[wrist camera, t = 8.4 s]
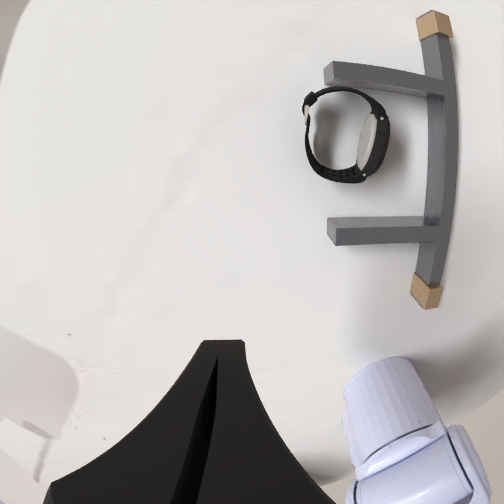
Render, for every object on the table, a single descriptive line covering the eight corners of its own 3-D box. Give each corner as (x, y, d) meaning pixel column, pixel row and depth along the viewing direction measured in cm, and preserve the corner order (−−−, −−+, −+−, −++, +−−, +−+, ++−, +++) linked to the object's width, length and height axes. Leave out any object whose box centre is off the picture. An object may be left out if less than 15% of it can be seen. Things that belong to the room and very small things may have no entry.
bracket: (422, 292, 19) (437, 309, 17) (323, 303, 19) (330, 323, 17) (429, 22, 12) (448, 13, 9) (315, -1, 12) (324, -18, 9)
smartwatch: (353, 207, 13) (406, 118, 10) (267, 151, 14) (307, 65, 11) (368, 189, 16) (409, 120, 13) (299, 144, 17) (333, 76, 14)
